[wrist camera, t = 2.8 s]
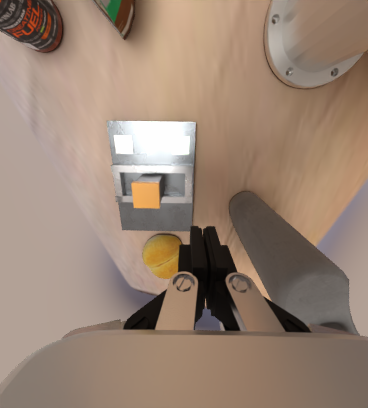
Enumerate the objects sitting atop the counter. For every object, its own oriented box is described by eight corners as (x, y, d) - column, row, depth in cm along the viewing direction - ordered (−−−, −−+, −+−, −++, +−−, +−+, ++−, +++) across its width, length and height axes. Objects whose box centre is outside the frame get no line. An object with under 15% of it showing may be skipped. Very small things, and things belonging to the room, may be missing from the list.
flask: (219, 202, 29) (278, 325, 10) (251, 185, 28) (383, 290, 9) (254, 262, 34) (337, 420, 15) (282, 250, 32) (411, 404, 14)
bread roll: (171, 225, 31) (169, 237, 27) (194, 259, 34) (195, 275, 30) (134, 243, 32) (128, 257, 29) (159, 274, 35) (156, 291, 32)
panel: (195, 122, 24) (196, 121, 22) (191, 226, 31) (191, 235, 28) (111, 121, 24) (102, 120, 22) (125, 225, 31) (119, 233, 28)
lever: (164, 173, 25) (158, 183, 20) (165, 193, 26) (159, 208, 21) (142, 172, 25) (131, 183, 20) (144, 192, 26) (133, 208, 21)
